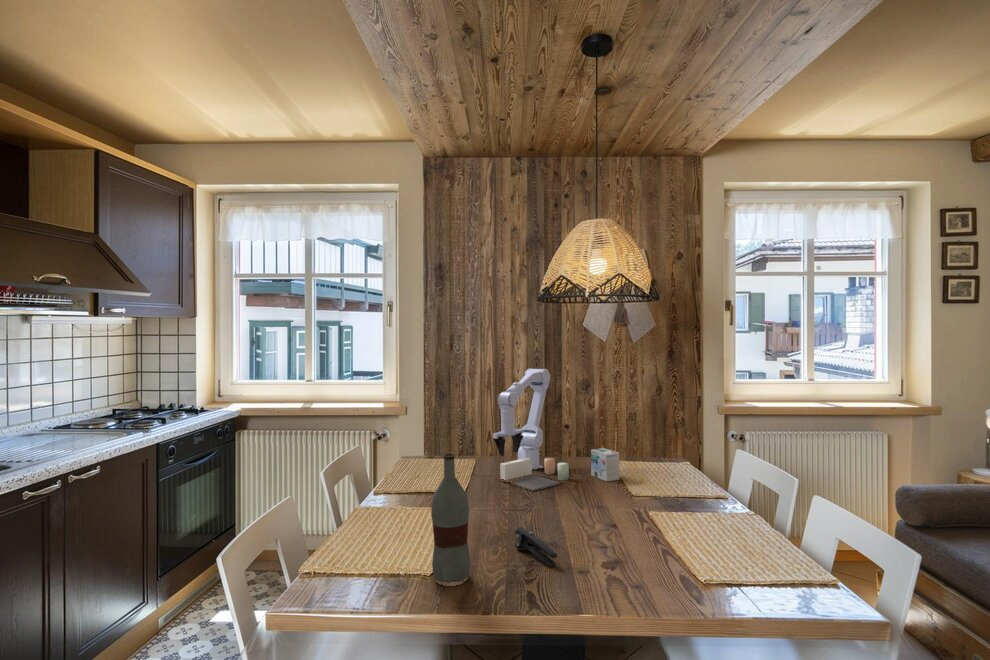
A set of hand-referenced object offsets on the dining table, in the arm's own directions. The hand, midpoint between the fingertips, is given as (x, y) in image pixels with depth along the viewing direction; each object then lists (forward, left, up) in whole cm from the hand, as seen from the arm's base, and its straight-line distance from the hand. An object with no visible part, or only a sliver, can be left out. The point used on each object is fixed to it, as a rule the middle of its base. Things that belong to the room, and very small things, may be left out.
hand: (508, 453), depth 216 cm
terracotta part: (+8, +16, -9) cm, 20 cm away
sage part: (+18, +14, -9) cm, 24 cm away
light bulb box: (+28, +28, -10) cm, 40 cm away
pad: (+16, 0, -9) cm, 18 cm away
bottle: (+62, -68, -10) cm, 92 cm away
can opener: (+65, -43, -10) cm, 78 cm away
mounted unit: (+5, 0, -9) cm, 10 cm away
